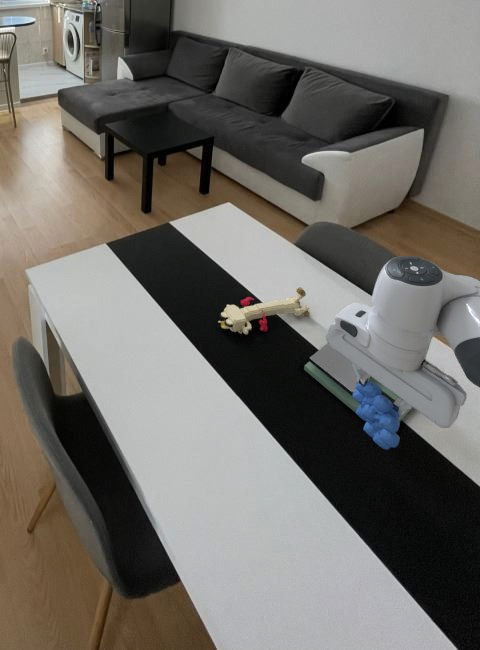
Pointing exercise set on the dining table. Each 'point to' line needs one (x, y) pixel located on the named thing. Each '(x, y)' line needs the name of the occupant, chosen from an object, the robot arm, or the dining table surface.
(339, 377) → the scale pan
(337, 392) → the scale
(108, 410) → the dining table surface
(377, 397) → the grapes
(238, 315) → the beige blocky toy
